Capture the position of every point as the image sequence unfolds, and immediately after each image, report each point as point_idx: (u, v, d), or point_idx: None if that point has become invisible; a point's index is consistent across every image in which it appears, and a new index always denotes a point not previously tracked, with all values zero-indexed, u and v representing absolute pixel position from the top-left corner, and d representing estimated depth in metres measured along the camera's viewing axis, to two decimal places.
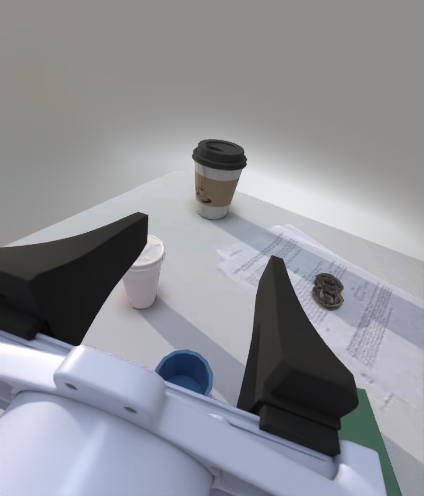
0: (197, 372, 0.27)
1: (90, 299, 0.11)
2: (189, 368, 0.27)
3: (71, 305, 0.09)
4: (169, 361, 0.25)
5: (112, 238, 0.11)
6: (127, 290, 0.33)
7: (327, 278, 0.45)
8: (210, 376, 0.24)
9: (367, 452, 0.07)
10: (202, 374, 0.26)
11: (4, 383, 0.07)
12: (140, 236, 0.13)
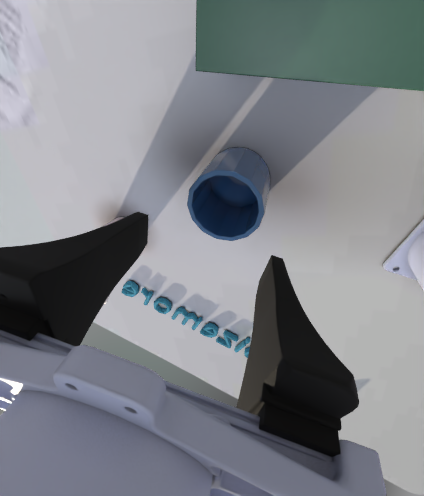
0: None
1: (90, 299, 0.11)
2: (204, 181, 0.20)
3: (71, 305, 0.09)
4: (204, 219, 0.20)
5: (112, 238, 0.11)
6: None
7: None
8: (219, 173, 0.16)
9: (367, 452, 0.07)
10: None
11: (4, 383, 0.07)
12: (140, 236, 0.13)
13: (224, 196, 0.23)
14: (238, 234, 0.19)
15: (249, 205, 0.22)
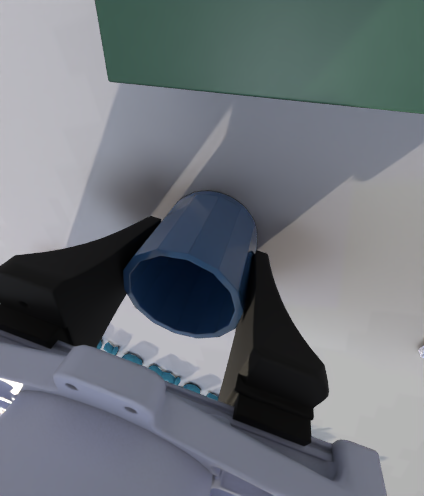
0: None
1: (106, 305, 0.11)
2: None
3: (89, 311, 0.09)
4: (156, 302, 0.13)
5: (128, 243, 0.11)
6: None
7: None
8: (165, 254, 0.09)
9: (367, 452, 0.07)
10: None
11: (4, 383, 0.07)
12: None
13: None
14: (205, 331, 0.12)
15: None
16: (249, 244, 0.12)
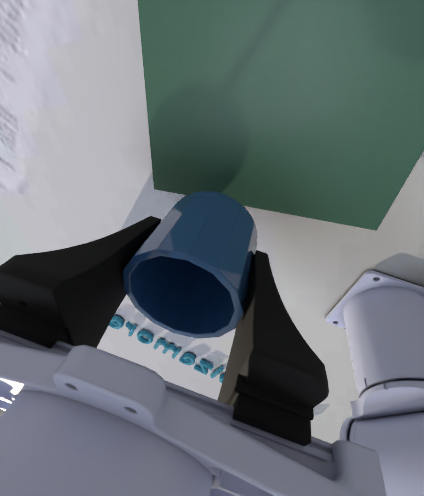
0: None
1: (106, 305, 0.11)
2: None
3: (89, 311, 0.09)
4: (156, 302, 0.13)
5: (128, 243, 0.11)
6: None
7: None
8: (164, 254, 0.09)
9: (368, 453, 0.07)
10: None
11: (4, 383, 0.07)
12: None
13: None
14: (205, 331, 0.12)
15: None
16: (249, 244, 0.12)
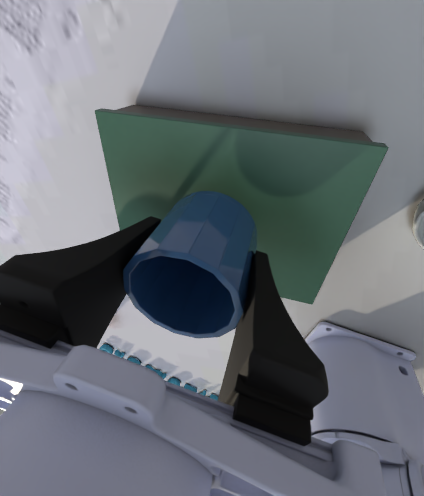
0: None
1: (106, 305, 0.11)
2: None
3: (89, 311, 0.09)
4: (156, 302, 0.13)
5: (128, 243, 0.11)
6: None
7: None
8: (164, 254, 0.09)
9: (367, 453, 0.07)
10: None
11: (4, 383, 0.07)
12: None
13: None
14: (205, 331, 0.12)
15: None
16: (249, 244, 0.12)
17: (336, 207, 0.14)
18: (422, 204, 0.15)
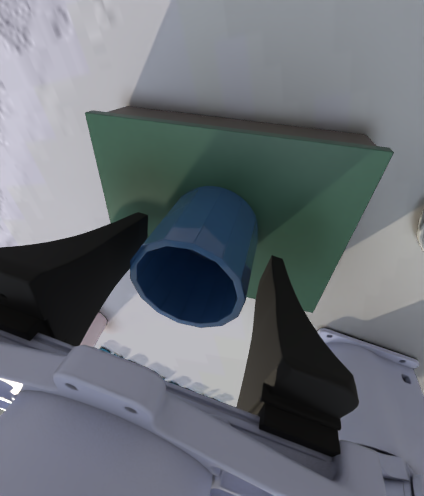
0: None
1: (90, 299, 0.11)
2: None
3: (71, 305, 0.09)
4: (161, 293, 0.13)
5: (112, 238, 0.11)
6: None
7: None
8: (171, 244, 0.10)
9: (368, 453, 0.07)
10: None
11: (4, 383, 0.07)
12: (140, 236, 0.13)
13: None
14: (209, 320, 0.13)
15: None
16: (251, 236, 0.13)
17: (338, 214, 0.13)
18: None
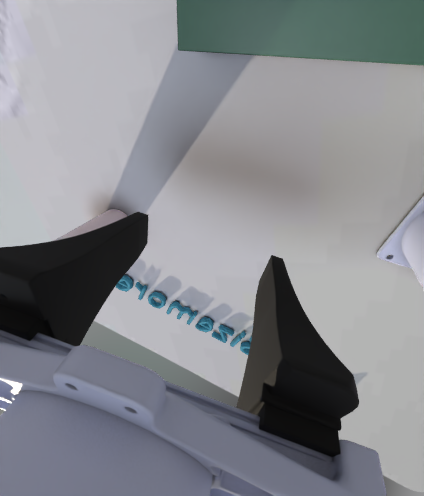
0: None
1: (90, 299, 0.11)
2: None
3: (71, 305, 0.09)
4: None
5: (112, 238, 0.11)
6: None
7: None
8: None
9: (367, 453, 0.07)
10: None
11: (4, 383, 0.07)
12: (140, 236, 0.13)
13: None
14: None
15: None
16: None
17: None
18: None
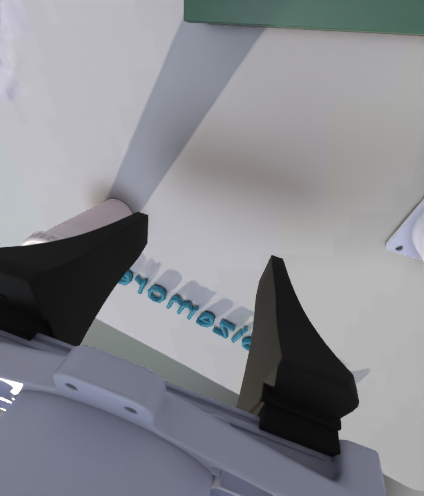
0: None
1: (90, 299, 0.11)
2: None
3: (71, 305, 0.09)
4: None
5: (112, 238, 0.11)
6: None
7: None
8: None
9: (368, 453, 0.07)
10: None
11: (4, 383, 0.07)
12: (140, 236, 0.13)
13: None
14: None
15: None
16: None
17: None
18: None
